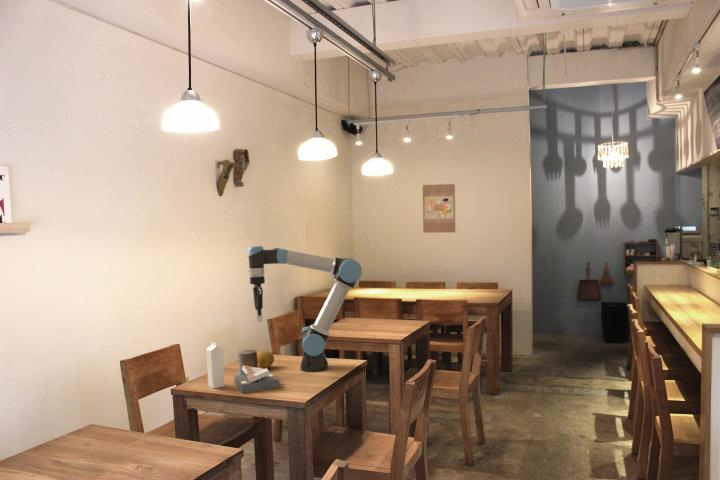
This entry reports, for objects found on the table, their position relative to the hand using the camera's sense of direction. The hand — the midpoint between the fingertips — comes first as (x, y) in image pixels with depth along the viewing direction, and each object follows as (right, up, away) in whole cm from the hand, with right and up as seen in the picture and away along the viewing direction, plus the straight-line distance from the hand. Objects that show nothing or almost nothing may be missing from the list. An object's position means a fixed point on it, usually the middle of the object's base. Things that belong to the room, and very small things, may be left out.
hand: (259, 321), depth 310 cm
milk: (-19, -31, -12) cm, 38 cm away
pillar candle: (-6, -30, +3) cm, 31 cm away
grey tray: (+1, -30, -14) cm, 33 cm away
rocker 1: (-2, -23, -9) cm, 25 cm away
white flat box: (+3, -23, -20) cm, 31 cm away
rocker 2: (+1, -23, -15) cm, 27 cm away
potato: (-1, -29, +22) cm, 36 cm away
